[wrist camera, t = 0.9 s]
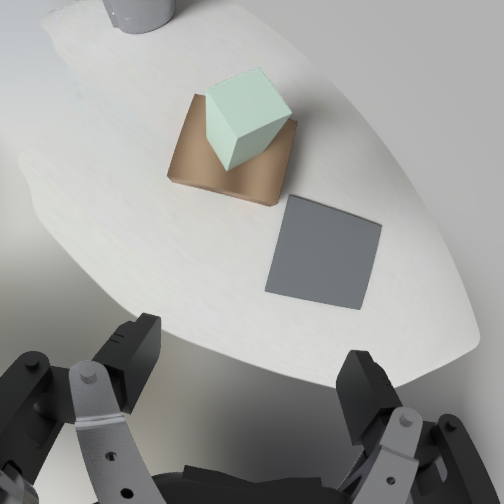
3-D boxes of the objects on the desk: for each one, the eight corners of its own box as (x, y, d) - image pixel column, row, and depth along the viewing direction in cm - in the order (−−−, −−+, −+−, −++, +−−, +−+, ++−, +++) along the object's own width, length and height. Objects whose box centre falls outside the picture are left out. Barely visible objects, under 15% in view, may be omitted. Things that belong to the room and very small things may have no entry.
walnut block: (172, 181, 30) (166, 175, 27) (196, 107, 30) (195, 93, 26) (269, 206, 32) (277, 204, 29) (288, 132, 32) (297, 121, 28)
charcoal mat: (264, 290, 33) (265, 291, 33) (288, 195, 33) (289, 195, 32) (358, 309, 36) (360, 310, 35) (380, 226, 35) (381, 226, 35)
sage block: (226, 171, 27) (237, 138, 17) (206, 137, 27) (205, 89, 16) (262, 152, 28) (292, 113, 17) (242, 119, 27) (260, 67, 16)
